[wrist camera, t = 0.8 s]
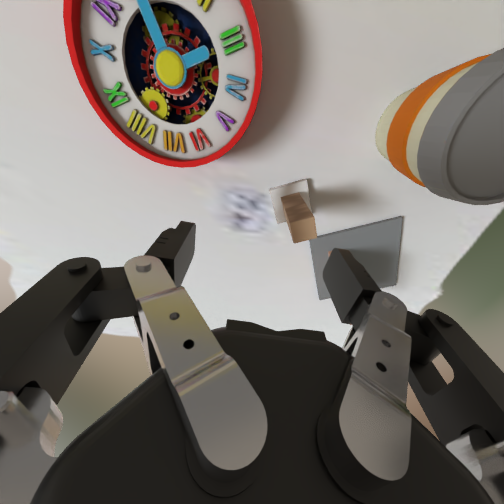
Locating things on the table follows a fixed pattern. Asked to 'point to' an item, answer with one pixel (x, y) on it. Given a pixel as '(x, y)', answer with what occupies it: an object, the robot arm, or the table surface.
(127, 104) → the toy clock
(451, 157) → the reusable coffee cup
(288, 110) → the table surface
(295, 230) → the scraper
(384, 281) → the mat
